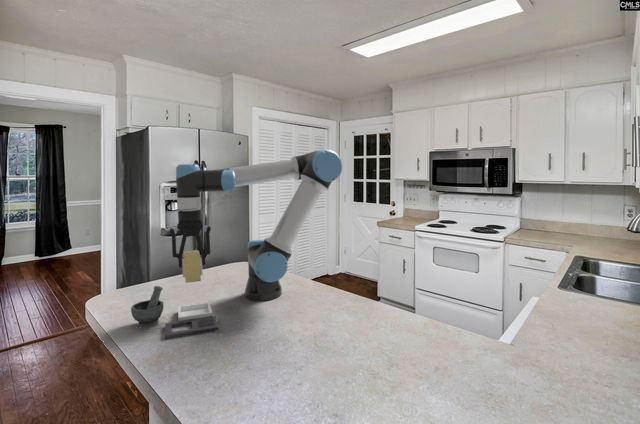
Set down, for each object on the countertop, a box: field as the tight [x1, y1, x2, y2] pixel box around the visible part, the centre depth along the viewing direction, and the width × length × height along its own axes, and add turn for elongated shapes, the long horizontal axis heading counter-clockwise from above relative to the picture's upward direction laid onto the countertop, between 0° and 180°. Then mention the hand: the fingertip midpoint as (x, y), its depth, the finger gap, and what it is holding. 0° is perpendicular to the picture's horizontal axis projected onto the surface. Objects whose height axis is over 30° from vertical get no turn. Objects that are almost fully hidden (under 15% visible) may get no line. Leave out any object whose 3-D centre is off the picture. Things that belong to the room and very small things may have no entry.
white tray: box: [177, 301, 213, 321], centre depth 129 cm, size 11×11×2 cm
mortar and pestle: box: [130, 285, 165, 330], centre depth 121 cm, size 11×9×12 cm
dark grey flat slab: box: [164, 315, 220, 340], centre depth 118 cm, size 16×10×1 cm, turn 112°
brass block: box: [183, 249, 202, 284], centre depth 127 cm, size 5×5×10 cm
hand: (192, 275), depth 127 cm, fingers closed on brass block, 5 cm apart
